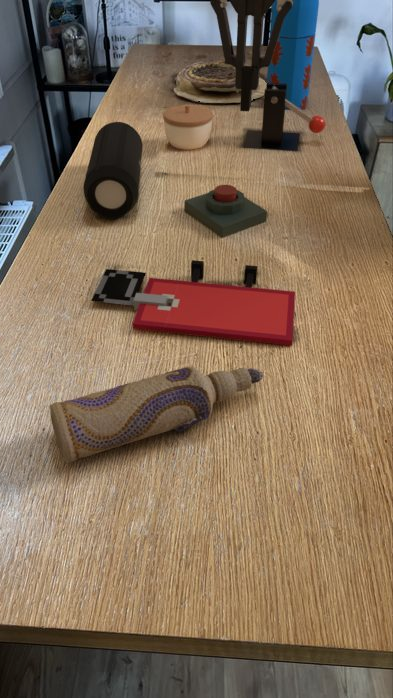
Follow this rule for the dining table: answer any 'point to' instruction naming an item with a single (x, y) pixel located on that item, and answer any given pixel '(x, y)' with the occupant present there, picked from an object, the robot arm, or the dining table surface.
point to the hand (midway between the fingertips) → (245, 108)
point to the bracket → (273, 123)
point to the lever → (307, 117)
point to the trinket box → (187, 126)
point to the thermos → (294, 50)
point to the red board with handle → (203, 306)
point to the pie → (212, 83)
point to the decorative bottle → (142, 409)
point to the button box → (225, 213)
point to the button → (225, 193)
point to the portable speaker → (114, 171)
